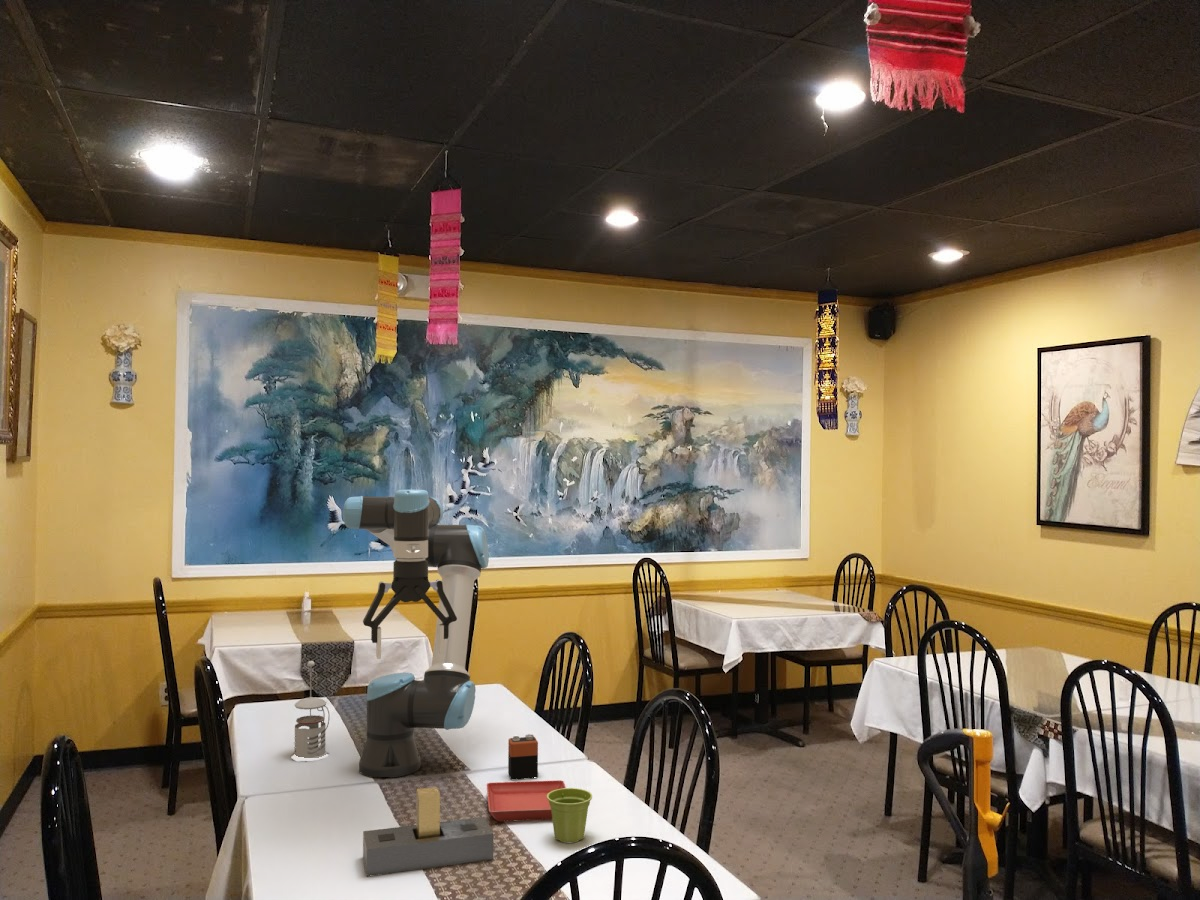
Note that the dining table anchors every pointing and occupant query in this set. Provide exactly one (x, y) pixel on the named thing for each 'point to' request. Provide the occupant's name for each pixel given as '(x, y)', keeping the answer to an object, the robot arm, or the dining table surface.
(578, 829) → the plant pot
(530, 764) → the battery
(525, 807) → the plant saucer
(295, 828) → the dining table surface
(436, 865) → the gray socket block
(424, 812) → the brass post
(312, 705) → the french press
